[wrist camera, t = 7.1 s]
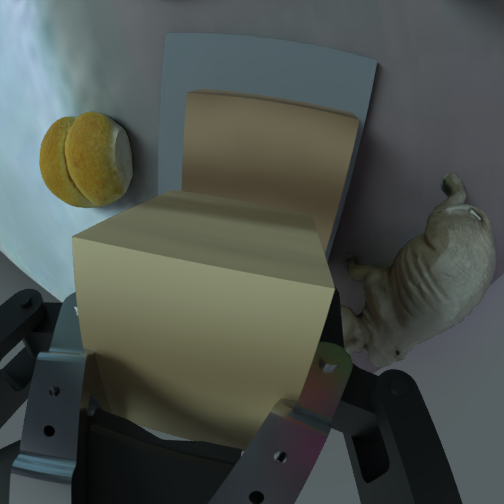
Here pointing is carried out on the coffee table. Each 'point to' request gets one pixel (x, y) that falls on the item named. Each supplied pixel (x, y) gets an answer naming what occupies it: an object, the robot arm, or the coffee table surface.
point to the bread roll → (86, 160)
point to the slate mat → (256, 87)
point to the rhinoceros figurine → (423, 281)
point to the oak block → (202, 311)
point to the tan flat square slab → (268, 152)
